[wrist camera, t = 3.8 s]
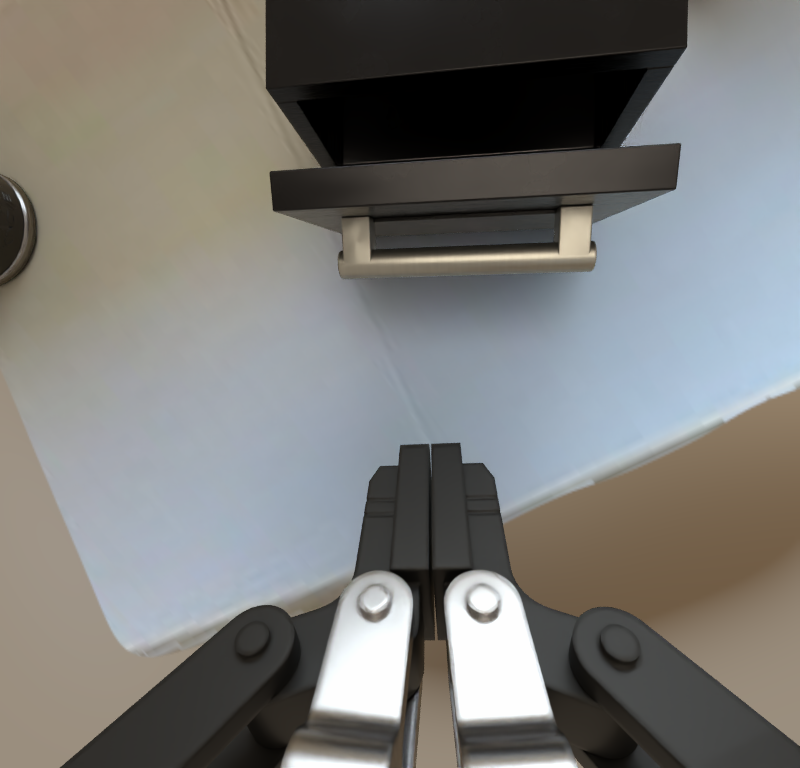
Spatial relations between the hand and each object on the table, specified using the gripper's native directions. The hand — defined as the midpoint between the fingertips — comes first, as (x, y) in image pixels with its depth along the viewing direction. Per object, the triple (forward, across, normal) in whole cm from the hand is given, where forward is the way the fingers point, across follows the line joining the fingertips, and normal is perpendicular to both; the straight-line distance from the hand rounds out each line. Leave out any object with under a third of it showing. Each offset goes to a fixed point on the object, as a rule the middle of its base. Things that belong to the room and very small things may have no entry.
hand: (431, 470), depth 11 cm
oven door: (+23, -2, 0) cm, 23 cm away
